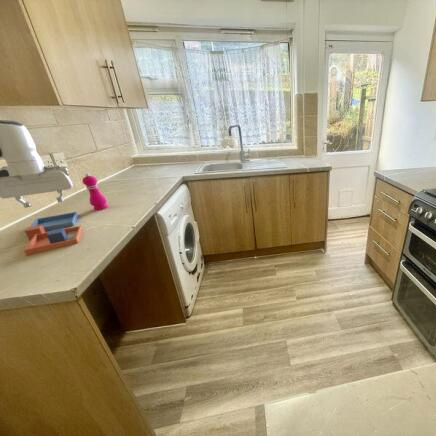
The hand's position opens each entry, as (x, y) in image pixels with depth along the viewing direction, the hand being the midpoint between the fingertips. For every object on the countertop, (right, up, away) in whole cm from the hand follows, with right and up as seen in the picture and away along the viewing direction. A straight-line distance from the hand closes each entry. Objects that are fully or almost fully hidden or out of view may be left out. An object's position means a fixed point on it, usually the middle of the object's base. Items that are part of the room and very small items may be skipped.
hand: (45, 204), depth 93 cm
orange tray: (-1, -15, +6) cm, 16 cm away
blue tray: (-17, -9, +22) cm, 29 cm away
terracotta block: (-14, -13, +11) cm, 22 cm away
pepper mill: (-10, 0, +40) cm, 42 cm away
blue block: (0, -15, +6) cm, 16 cm away
